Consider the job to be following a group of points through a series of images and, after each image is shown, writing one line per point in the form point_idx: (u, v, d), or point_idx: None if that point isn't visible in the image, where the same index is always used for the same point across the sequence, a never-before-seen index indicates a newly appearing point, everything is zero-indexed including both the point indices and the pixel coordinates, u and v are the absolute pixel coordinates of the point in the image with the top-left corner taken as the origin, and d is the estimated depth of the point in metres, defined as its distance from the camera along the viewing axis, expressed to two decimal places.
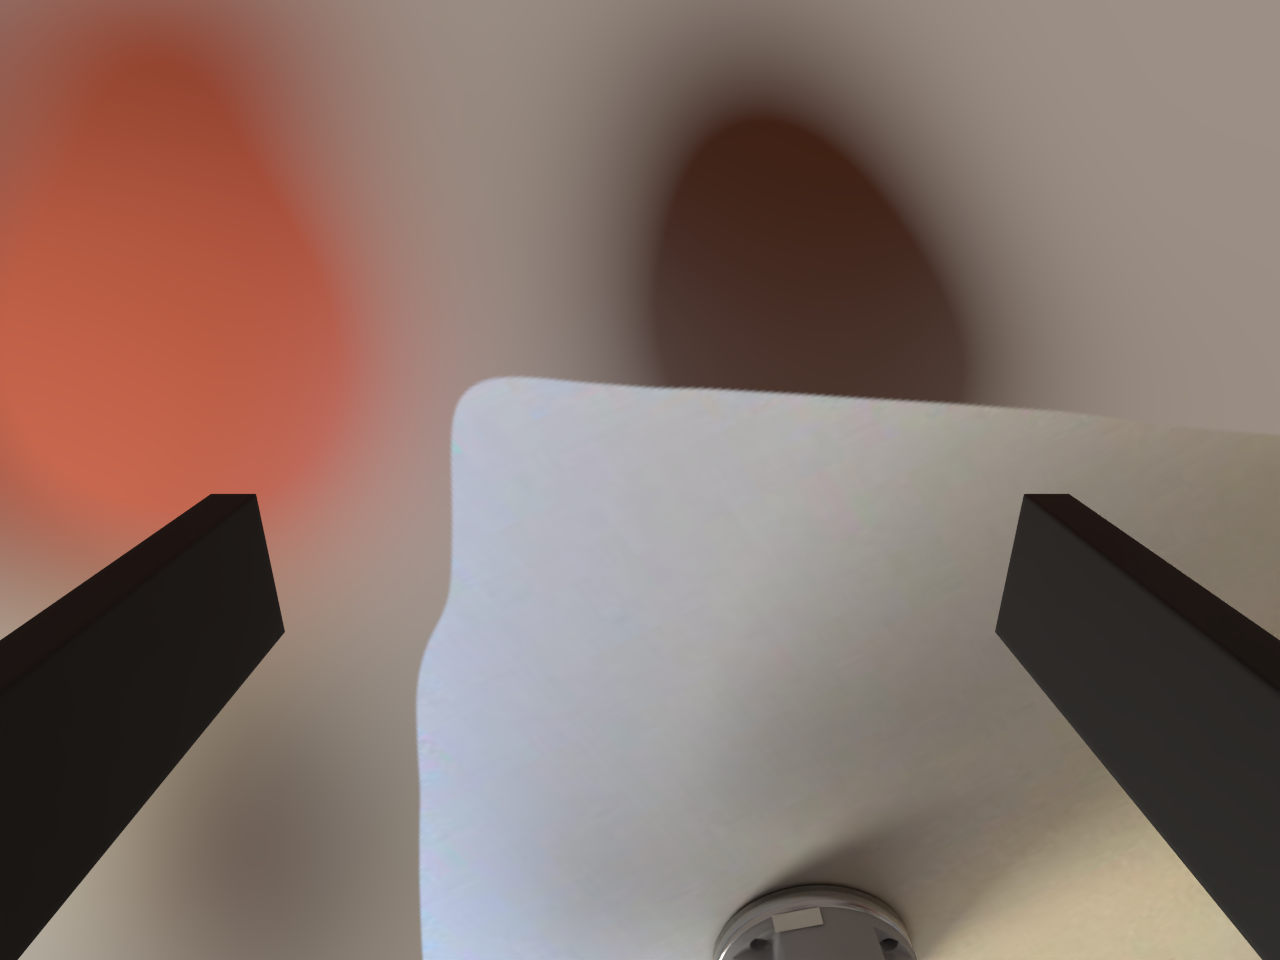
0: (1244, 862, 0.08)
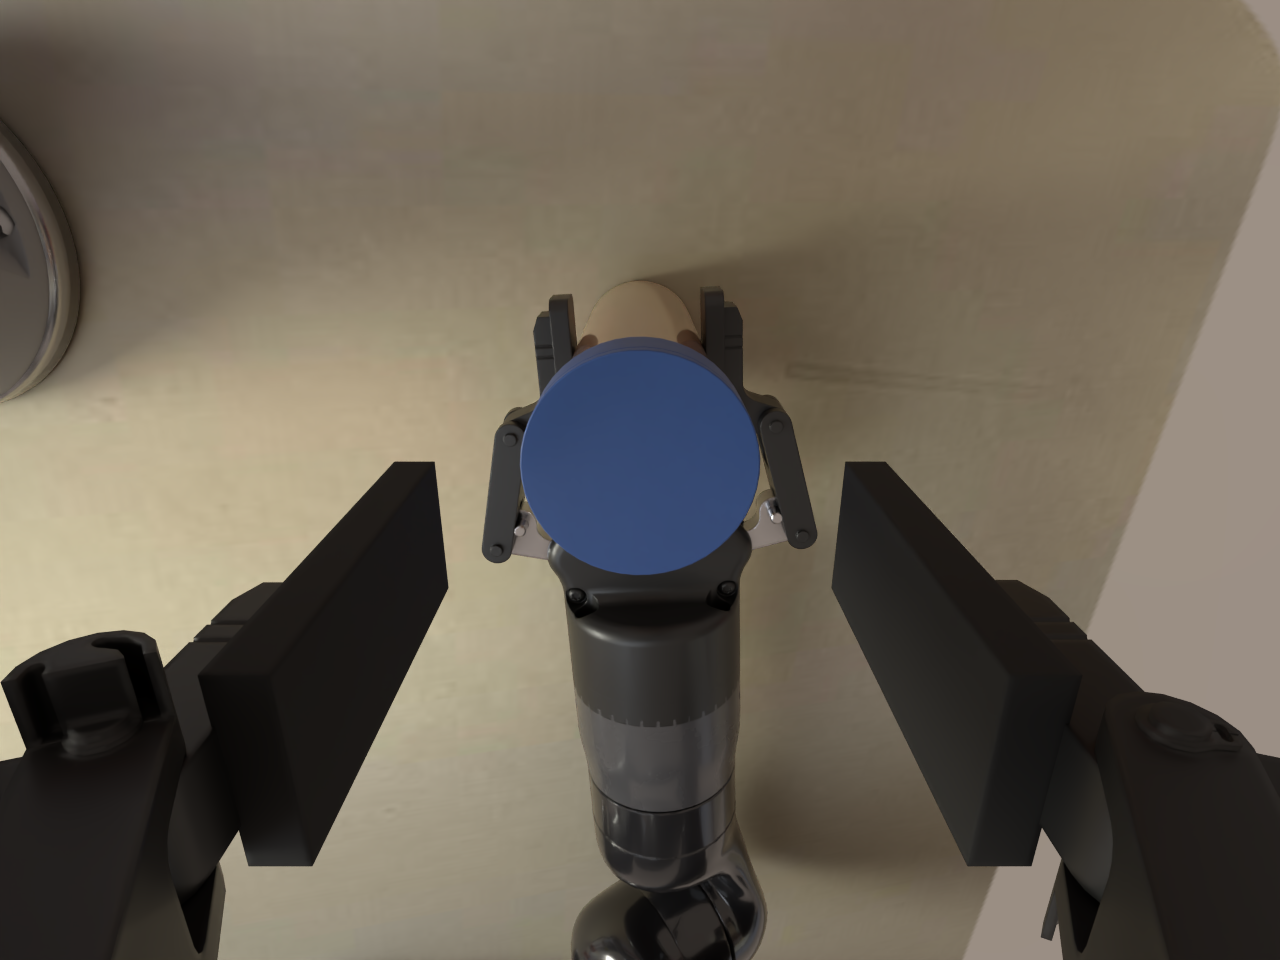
0: (944, 755, 0.09)
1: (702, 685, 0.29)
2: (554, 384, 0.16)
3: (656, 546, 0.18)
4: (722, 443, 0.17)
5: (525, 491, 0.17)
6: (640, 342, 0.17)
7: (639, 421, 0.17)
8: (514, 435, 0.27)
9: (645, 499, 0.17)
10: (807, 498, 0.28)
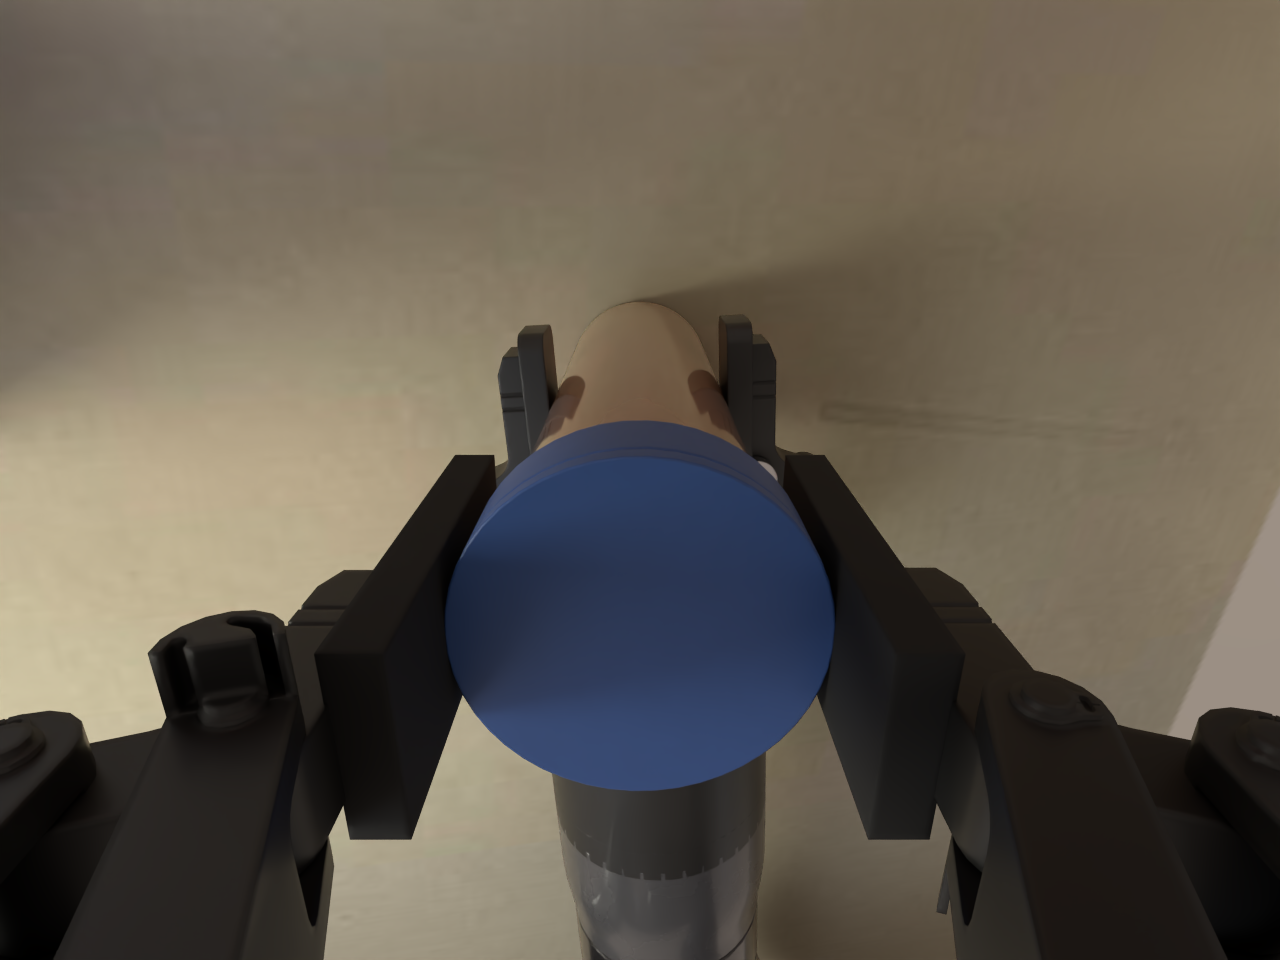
0: (853, 734, 0.10)
1: (720, 827, 0.23)
2: (496, 510, 0.10)
3: (665, 751, 0.11)
4: (775, 601, 0.10)
5: (454, 673, 0.11)
6: (640, 435, 0.10)
7: (637, 568, 0.10)
8: None
9: (648, 684, 0.11)
10: None
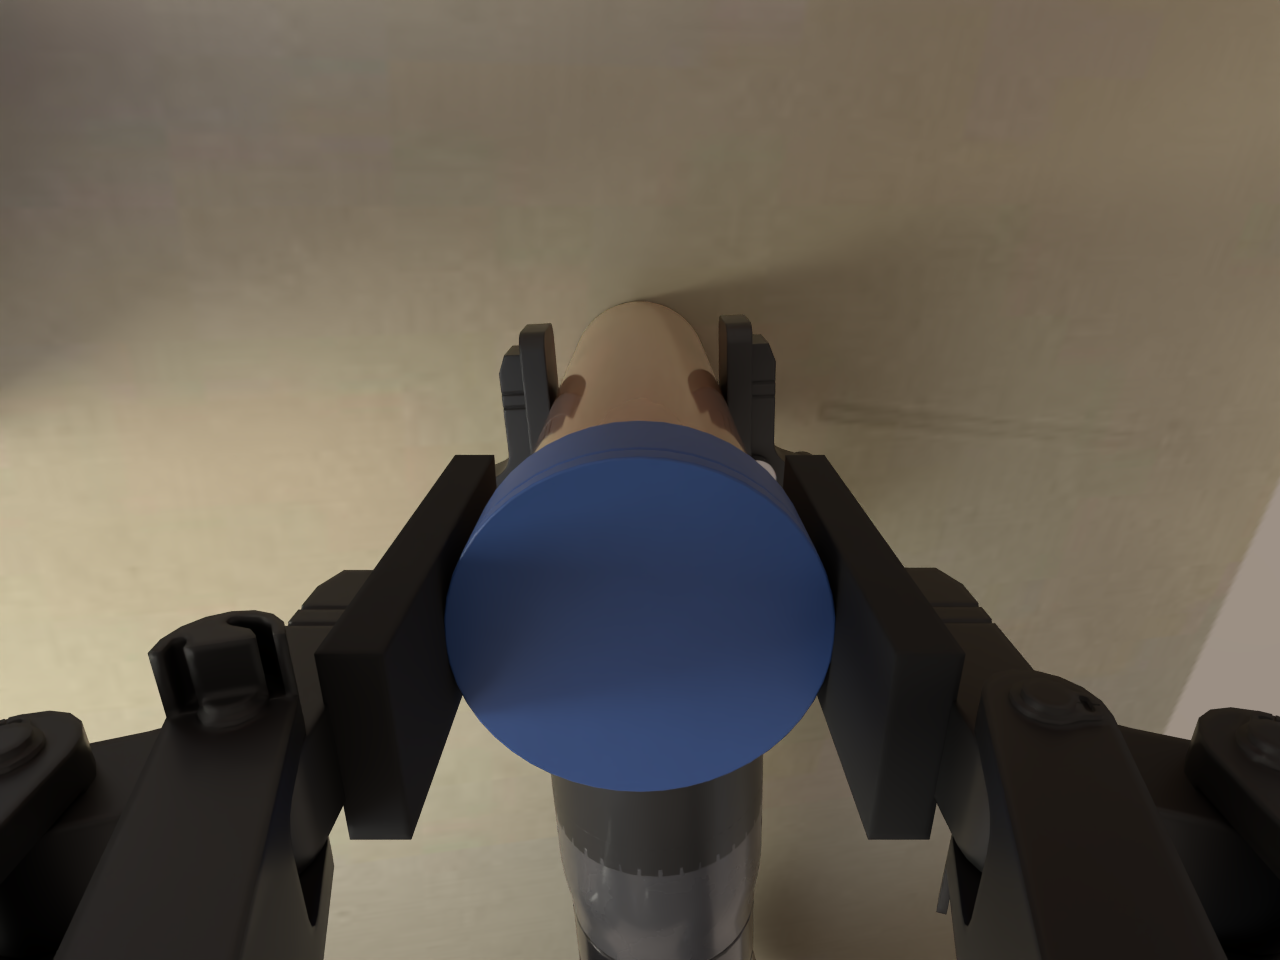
0: (852, 734, 0.10)
1: (717, 824, 0.23)
2: (515, 751, 0.11)
3: (779, 611, 0.10)
4: (584, 523, 0.10)
5: (683, 786, 0.11)
6: None
7: (559, 647, 0.10)
8: None
9: (692, 631, 0.10)
10: None
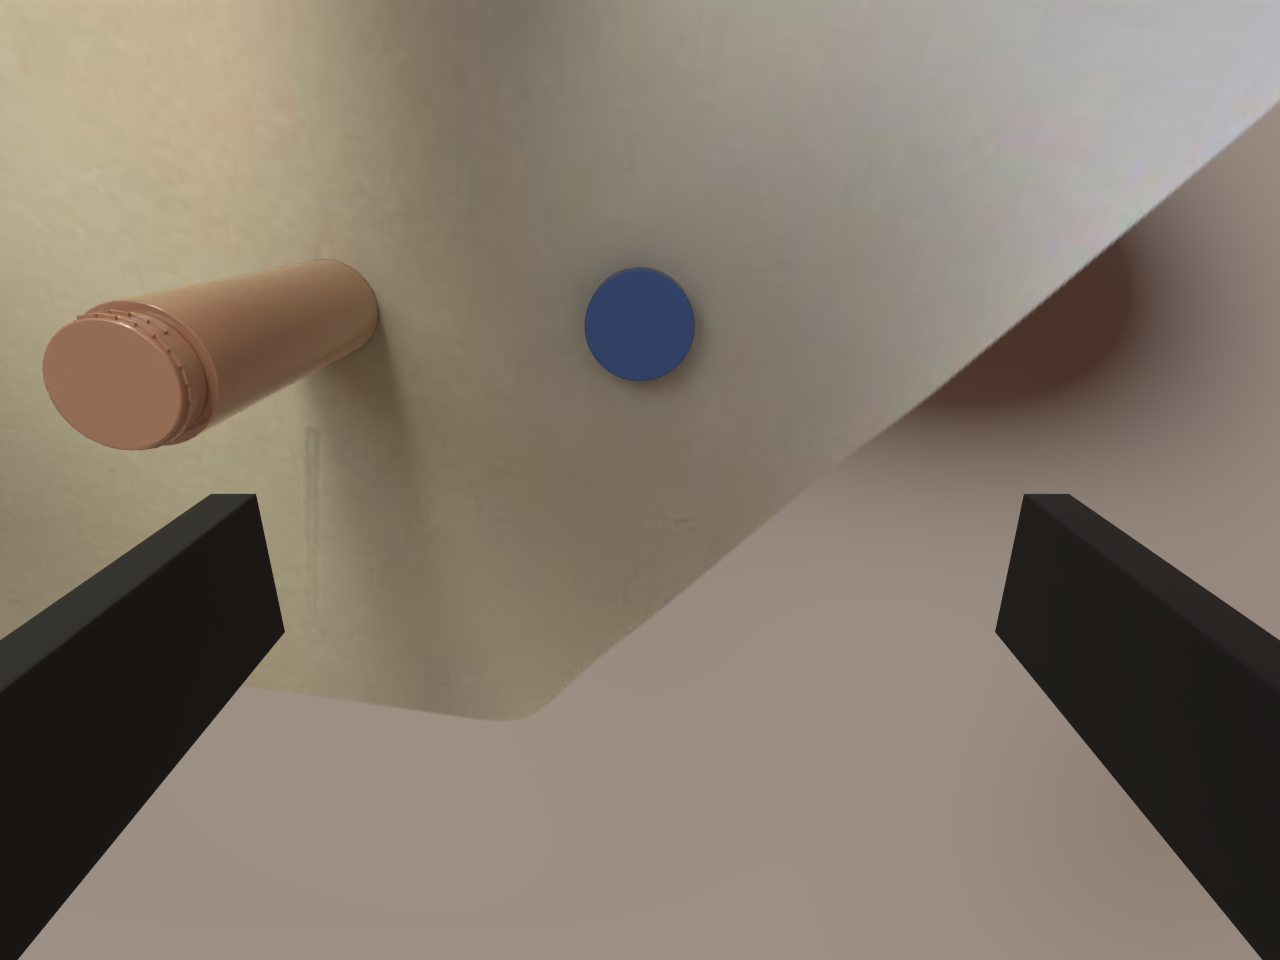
0: (1244, 862, 0.08)
1: None
2: (673, 282, 0.37)
3: (602, 341, 0.38)
4: (657, 361, 0.38)
5: (620, 275, 0.36)
6: None
7: (662, 322, 0.37)
8: None
9: (625, 332, 0.37)
10: None
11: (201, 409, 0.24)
